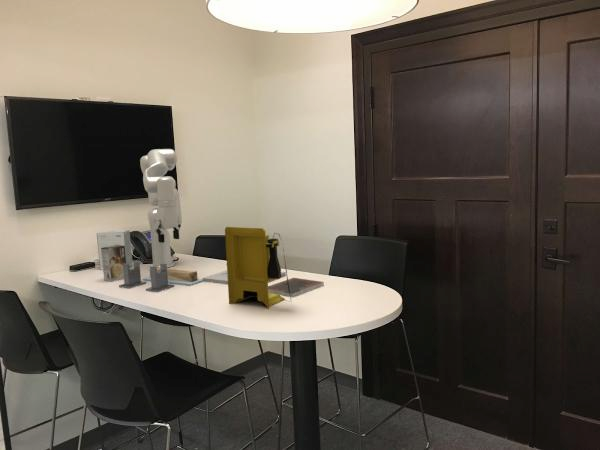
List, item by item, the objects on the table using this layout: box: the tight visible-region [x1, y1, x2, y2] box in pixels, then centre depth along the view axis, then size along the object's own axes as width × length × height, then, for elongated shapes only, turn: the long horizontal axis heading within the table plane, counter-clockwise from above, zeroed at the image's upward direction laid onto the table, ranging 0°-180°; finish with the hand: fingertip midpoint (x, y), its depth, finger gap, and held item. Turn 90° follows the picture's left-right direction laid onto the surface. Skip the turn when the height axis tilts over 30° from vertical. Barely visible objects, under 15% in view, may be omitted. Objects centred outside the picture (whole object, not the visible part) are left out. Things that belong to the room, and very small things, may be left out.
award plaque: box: [201, 269, 287, 285], centre depth 234 cm, size 25×30×2 cm
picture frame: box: [268, 277, 325, 298], centre depth 212 cm, size 16×2×22 cm
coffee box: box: [101, 245, 126, 282], centre depth 242 cm, size 9×6×16 cm
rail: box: [149, 268, 199, 282], centre depth 235 cm, size 4×26×4 cm, turn 60°
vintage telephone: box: [224, 226, 292, 310], centre depth 191 cm, size 31×14×30 cm, turn 59°
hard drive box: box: [96, 230, 134, 269], centre depth 269 cm, size 16×8×20 cm, turn 84°
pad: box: [142, 276, 203, 287], centre depth 235 cm, size 10×30×1 cm, turn 60°
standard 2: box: [145, 264, 175, 293], centre depth 220 cm, size 10×7×10 cm
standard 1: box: [118, 260, 148, 289], centre depth 228 cm, size 10×7×10 cm
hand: (169, 240), depth 234 cm, fingers open, 9 cm apart
